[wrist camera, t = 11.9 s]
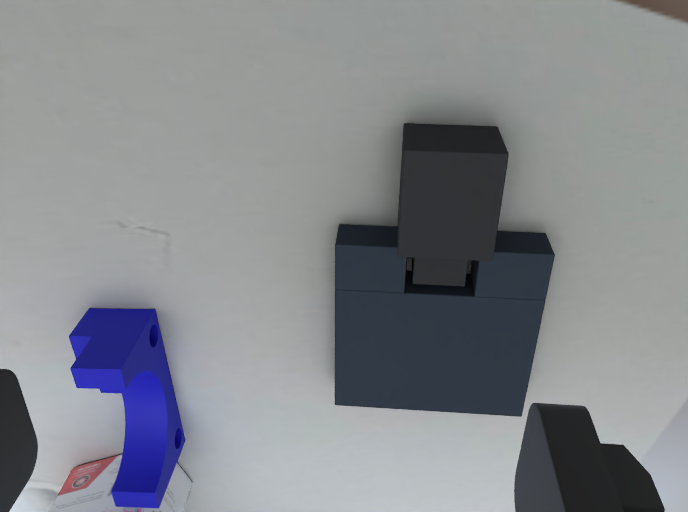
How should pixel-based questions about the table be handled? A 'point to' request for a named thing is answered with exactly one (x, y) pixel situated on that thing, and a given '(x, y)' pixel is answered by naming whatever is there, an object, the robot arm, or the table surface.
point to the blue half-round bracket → (133, 396)
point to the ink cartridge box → (97, 482)
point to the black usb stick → (449, 199)
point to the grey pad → (437, 326)
